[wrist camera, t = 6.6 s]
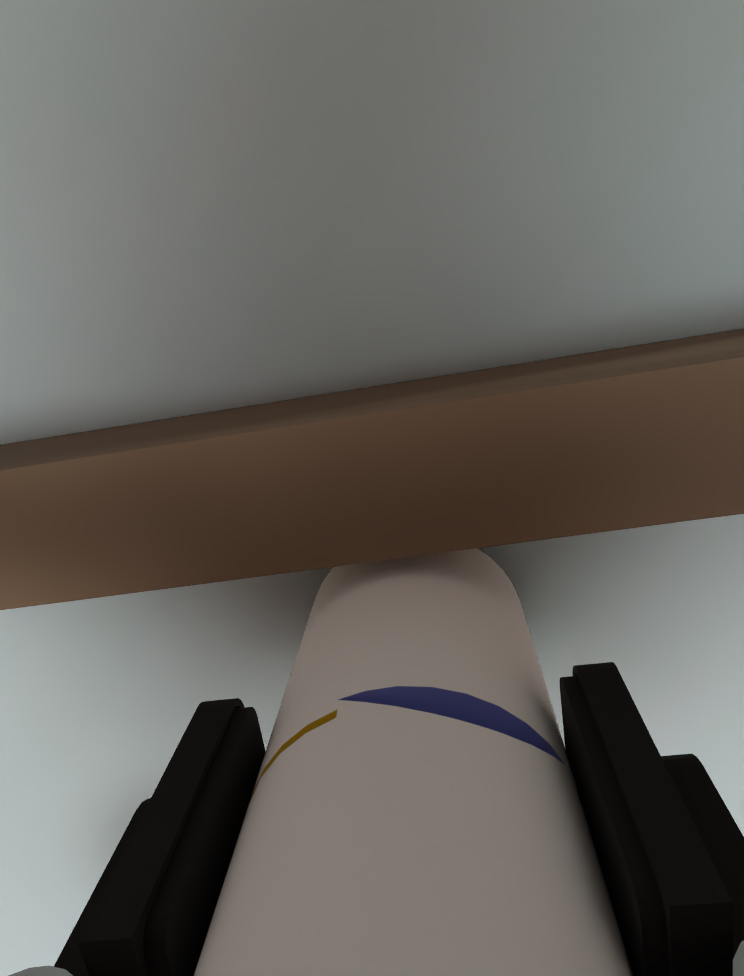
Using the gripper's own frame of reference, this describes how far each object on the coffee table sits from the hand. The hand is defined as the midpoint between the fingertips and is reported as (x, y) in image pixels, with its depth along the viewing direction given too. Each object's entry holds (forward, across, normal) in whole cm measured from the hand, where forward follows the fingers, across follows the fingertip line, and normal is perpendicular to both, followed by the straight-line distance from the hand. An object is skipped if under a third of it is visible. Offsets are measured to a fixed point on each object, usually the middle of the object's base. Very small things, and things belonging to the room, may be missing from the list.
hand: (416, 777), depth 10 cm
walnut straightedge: (+5, -3, -4) cm, 7 cm away
